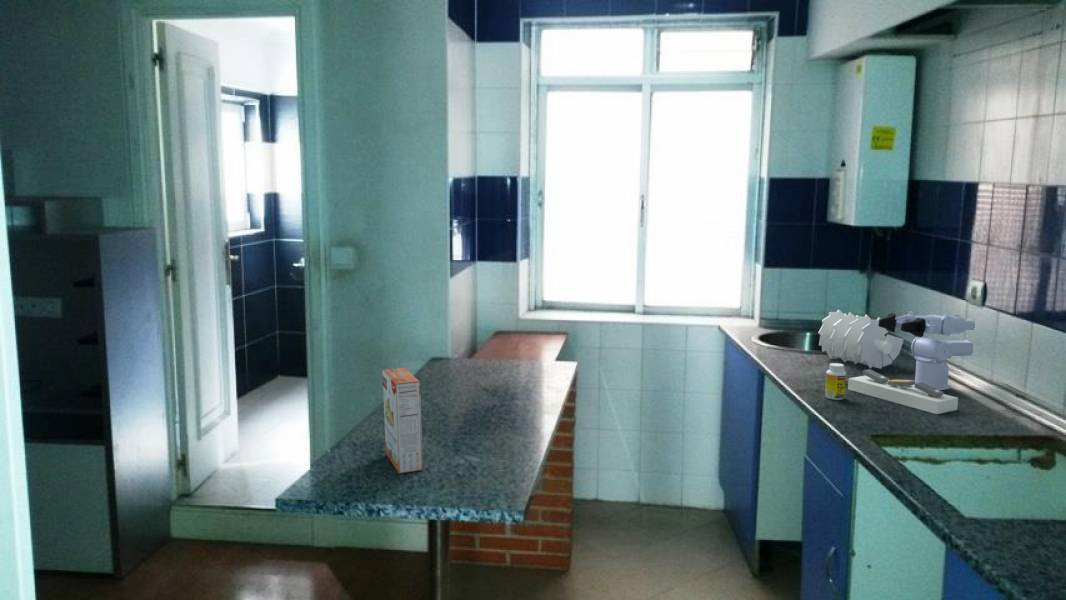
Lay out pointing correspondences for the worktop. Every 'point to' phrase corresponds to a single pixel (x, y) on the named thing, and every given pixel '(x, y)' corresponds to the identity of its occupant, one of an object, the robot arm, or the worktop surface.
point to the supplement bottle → (835, 382)
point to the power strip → (903, 395)
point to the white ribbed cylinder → (858, 340)
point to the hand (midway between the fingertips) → (890, 325)
